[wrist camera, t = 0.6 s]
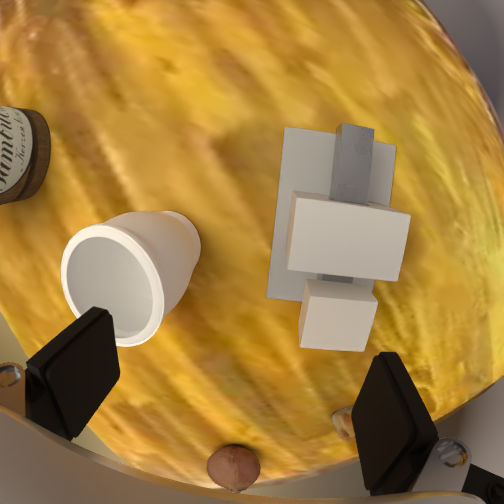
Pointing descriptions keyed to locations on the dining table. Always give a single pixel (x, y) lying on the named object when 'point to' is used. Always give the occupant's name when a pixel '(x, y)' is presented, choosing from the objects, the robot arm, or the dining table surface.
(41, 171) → the wooden container
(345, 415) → the pastry
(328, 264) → the bearing block
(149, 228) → the jar
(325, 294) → the block
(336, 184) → the shaft
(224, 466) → the onion
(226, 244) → the dining table surface
